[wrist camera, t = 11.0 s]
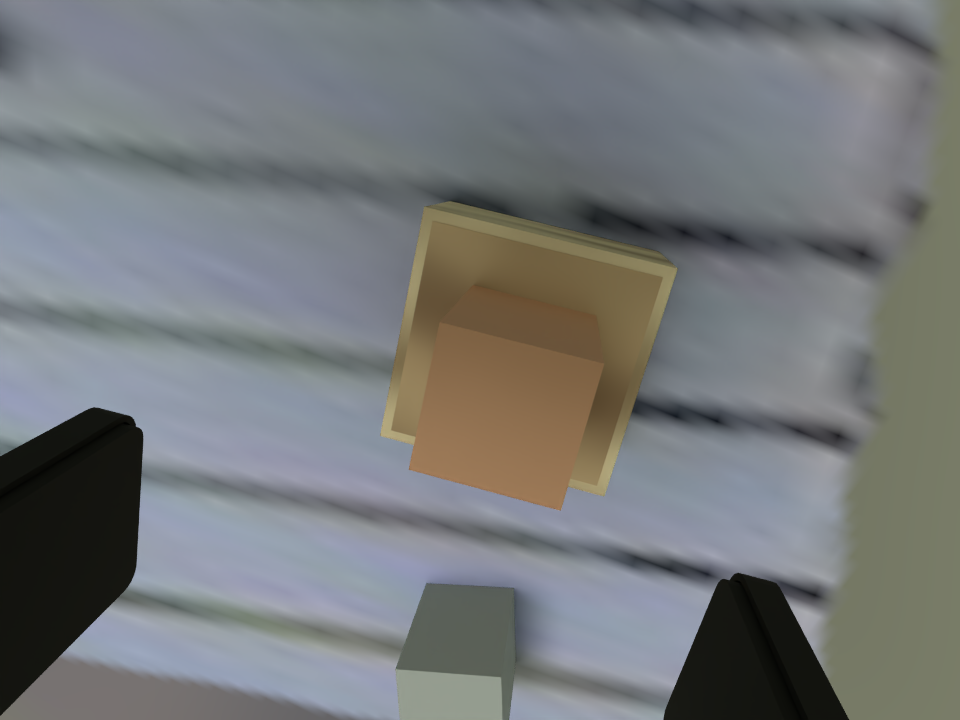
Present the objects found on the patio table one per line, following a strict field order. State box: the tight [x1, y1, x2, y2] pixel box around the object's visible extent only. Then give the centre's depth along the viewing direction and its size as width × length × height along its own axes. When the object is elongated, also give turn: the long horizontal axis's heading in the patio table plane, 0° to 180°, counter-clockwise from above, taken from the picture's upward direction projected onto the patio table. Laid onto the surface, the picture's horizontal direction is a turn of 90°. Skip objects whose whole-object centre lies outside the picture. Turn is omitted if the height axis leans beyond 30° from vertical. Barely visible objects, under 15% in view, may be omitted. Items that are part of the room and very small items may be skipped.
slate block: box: [396, 583, 516, 720], centre depth 30 cm, size 4×4×6 cm
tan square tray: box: [380, 201, 678, 496], centre depth 26 cm, size 9×9×5 cm
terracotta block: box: [409, 285, 604, 511], centre depth 20 cm, size 4×4×6 cm
